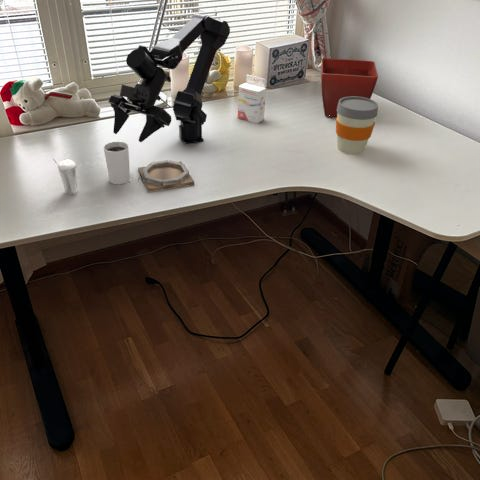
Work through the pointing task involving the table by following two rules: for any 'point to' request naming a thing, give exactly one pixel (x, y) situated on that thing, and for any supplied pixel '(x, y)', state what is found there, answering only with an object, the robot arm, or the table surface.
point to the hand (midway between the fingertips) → (127, 137)
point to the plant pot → (346, 81)
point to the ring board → (165, 175)
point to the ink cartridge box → (252, 99)
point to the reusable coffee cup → (355, 123)
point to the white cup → (117, 162)
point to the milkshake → (68, 176)
